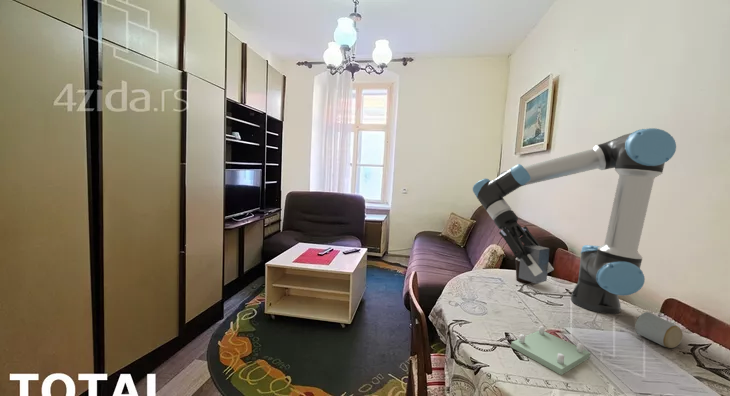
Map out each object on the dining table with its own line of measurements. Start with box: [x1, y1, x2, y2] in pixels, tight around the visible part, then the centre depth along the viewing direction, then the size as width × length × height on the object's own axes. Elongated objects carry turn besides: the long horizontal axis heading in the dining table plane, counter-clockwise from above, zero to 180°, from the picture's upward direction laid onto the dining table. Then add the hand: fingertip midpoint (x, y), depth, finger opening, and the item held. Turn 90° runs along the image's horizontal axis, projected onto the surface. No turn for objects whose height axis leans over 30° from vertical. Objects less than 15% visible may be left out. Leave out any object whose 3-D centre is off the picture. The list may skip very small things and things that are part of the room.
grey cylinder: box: [634, 311, 684, 349], centre depth 90 cm, size 11×8×8 cm
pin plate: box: [510, 325, 591, 376], centre depth 81 cm, size 15×13×4 cm
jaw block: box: [519, 244, 550, 284], centre depth 99 cm, size 6×6×11 cm
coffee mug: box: [515, 257, 533, 285], centre depth 138 cm, size 12×9×10 cm
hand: (544, 272), depth 96 cm, fingers closed on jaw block, 6 cm apart
